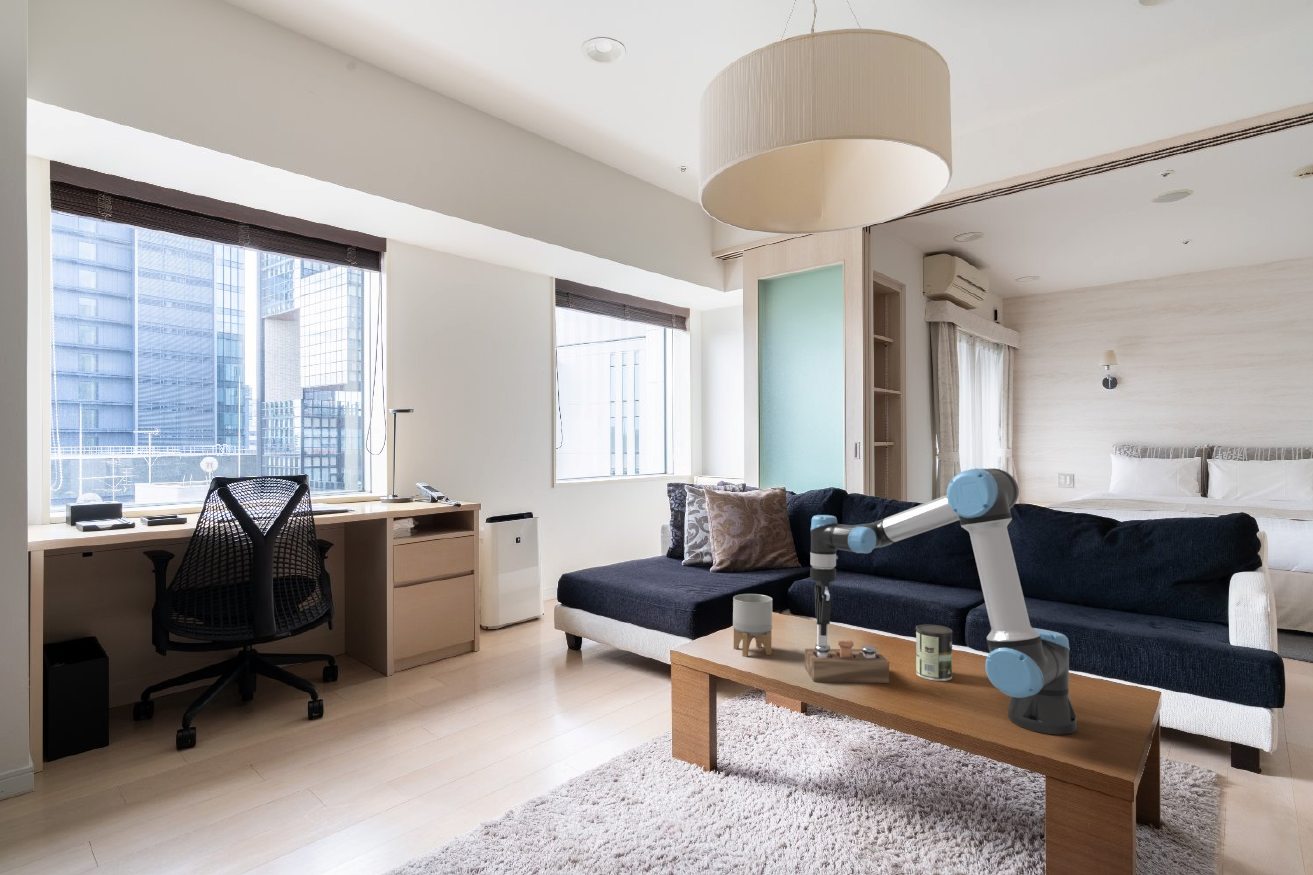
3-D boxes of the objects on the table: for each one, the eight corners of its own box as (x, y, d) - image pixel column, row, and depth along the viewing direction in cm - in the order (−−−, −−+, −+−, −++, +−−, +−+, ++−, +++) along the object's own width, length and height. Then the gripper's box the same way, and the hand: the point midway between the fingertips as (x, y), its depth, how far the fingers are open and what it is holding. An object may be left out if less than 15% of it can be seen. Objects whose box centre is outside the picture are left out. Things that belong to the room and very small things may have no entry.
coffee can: (948, 671, 206) (948, 625, 207) (955, 682, 196) (956, 634, 196) (912, 668, 208) (913, 622, 209) (918, 679, 198) (919, 632, 198)
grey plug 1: (831, 672, 199) (831, 648, 200) (816, 672, 199) (817, 648, 200) (827, 667, 204) (828, 643, 204) (813, 667, 204) (813, 643, 204)
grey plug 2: (878, 674, 199) (878, 650, 200) (863, 674, 199) (864, 649, 200) (873, 669, 204) (874, 645, 204) (859, 669, 204) (859, 645, 204)
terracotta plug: (855, 668, 199) (855, 643, 200) (840, 668, 199) (840, 643, 200) (850, 663, 204) (851, 639, 204) (836, 663, 204) (836, 639, 204)
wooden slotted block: (889, 682, 196) (889, 661, 196) (813, 681, 196) (813, 661, 196) (875, 668, 208) (875, 649, 208) (804, 667, 208) (804, 648, 208)
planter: (742, 643, 233) (742, 592, 233) (777, 649, 226) (778, 596, 226) (726, 653, 221) (726, 599, 222) (763, 660, 215) (763, 604, 215)
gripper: (841, 571, 195) (840, 652, 195) (830, 563, 208) (829, 638, 208) (815, 570, 195) (814, 651, 195) (806, 562, 209) (804, 638, 208)
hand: (822, 645), depth 202 cm, fingers closed
